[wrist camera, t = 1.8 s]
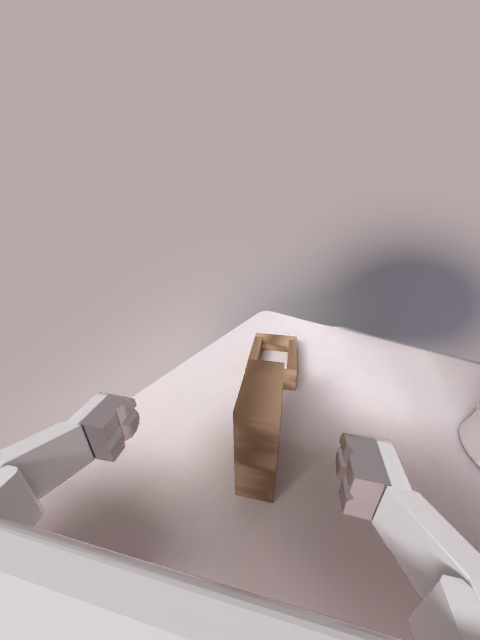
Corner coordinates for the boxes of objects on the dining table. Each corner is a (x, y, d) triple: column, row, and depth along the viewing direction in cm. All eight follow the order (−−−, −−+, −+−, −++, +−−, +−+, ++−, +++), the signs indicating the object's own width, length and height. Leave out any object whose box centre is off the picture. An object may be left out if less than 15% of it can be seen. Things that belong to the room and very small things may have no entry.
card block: (278, 437, 32) (284, 362, 27) (273, 503, 25) (281, 419, 20) (248, 431, 33) (248, 358, 27) (235, 494, 26) (232, 411, 20)
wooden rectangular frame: (295, 348, 51) (296, 336, 50) (295, 390, 40) (297, 375, 39) (256, 344, 53) (256, 333, 52) (245, 383, 41) (245, 369, 40)
